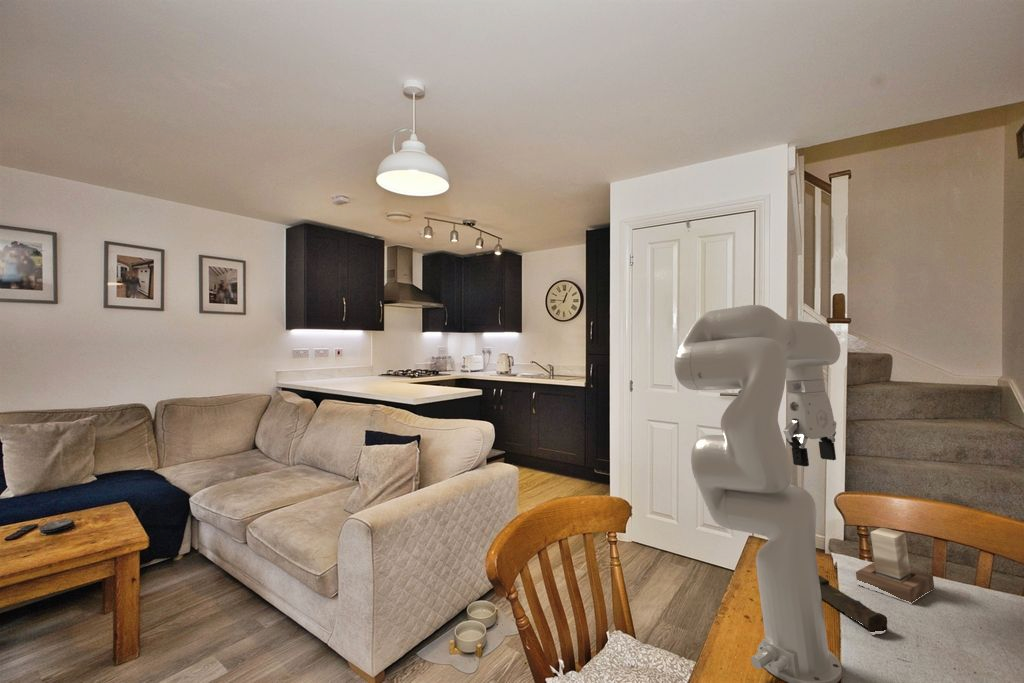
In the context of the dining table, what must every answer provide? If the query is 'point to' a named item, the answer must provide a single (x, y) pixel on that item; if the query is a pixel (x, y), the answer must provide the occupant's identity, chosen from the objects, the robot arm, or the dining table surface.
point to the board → (898, 583)
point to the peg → (890, 554)
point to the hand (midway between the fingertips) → (815, 462)
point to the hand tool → (852, 607)
